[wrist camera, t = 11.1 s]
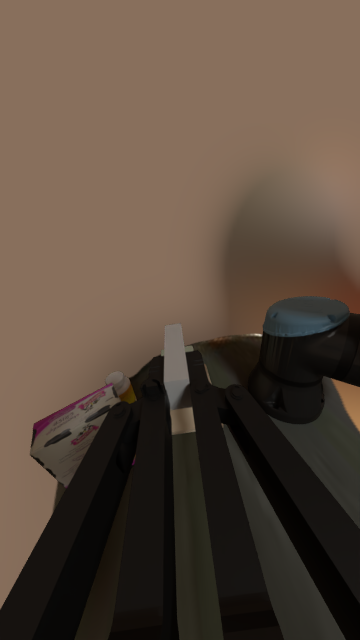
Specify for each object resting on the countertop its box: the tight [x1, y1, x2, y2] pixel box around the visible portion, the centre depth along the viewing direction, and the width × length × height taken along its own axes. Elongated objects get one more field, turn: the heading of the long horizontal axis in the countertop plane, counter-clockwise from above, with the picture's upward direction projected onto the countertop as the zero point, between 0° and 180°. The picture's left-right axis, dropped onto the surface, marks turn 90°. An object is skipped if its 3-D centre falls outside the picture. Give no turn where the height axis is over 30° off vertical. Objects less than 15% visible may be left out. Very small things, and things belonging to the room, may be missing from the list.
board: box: [170, 364, 223, 435], centre depth 43 cm, size 16×18×1 cm
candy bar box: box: [30, 383, 136, 489], centre depth 28 cm, size 11×5×16 cm, turn 125°
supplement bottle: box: [105, 371, 137, 404], centre depth 40 cm, size 6×6×10 cm
